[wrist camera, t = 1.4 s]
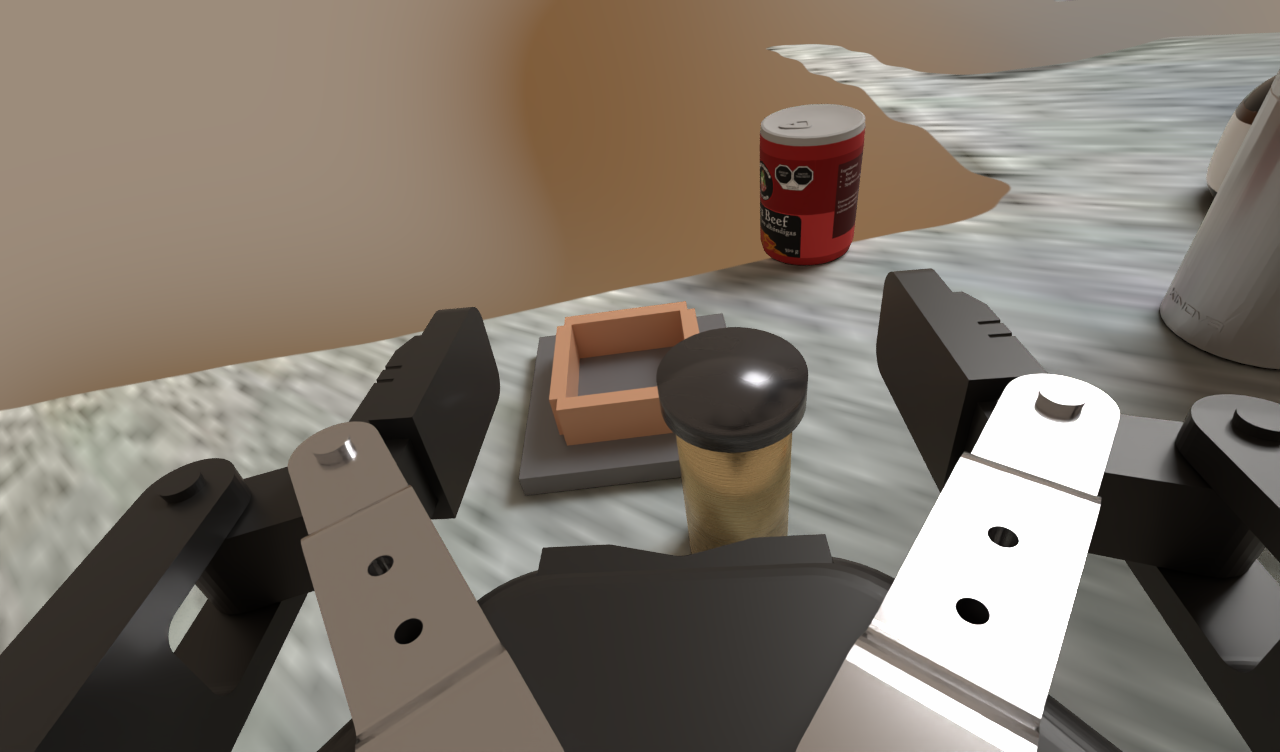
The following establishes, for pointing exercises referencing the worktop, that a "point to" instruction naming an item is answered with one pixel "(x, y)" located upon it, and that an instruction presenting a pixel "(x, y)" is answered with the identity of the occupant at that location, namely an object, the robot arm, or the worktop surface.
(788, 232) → the canned food
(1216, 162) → the spread jar
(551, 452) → the open box
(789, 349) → the spice jar
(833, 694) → the robot arm
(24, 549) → the worktop surface
